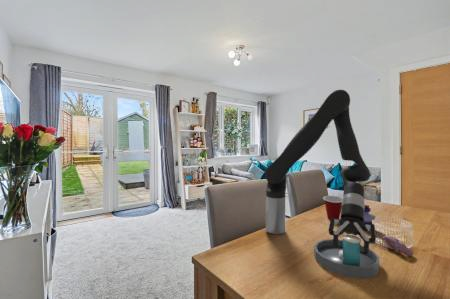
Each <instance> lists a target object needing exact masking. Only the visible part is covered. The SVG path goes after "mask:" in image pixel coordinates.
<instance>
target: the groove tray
mask: <svg viewBox="0 0 450 299" xmlns="http://www.w3.org/2000/svg"><path fill="white" fill-rule="evenodd" d="M313 256H314V259H315V262H316V263H318V264H319V266H321V267H322V268H324V269H326V270H327V271H330V272H331V273H332V272H333V273H334V274H337V275H340V276H343V277H346V278H353V279H354V278H355V279H369V278H374V277H376V276H377V275H378V274H380V256H379V255H378V254H377V252H376V251H373V250H372V249H370V248H369V253H366V255H365V254H364V245H362V244H360V266H352V265H346V264H342V263H343V239H338V247H337V248H335V246H334V245H333V238H328V239H322V240H318V241H317V242H316V243H315V244H314V246H313Z"/></svg>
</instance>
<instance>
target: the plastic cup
mask: <svg viewBox="0 0 450 299" xmlns="http://www.w3.org/2000/svg"><path fill="white" fill-rule="evenodd" d="M322 199H323V201H324V206H325V211H326V217H327V219H328V220H331V218H332V217H333V218H334V219H337V220H339V219H340V218H341V207H342V199H343V197H341V196H335V195H325V196H323V197H322Z"/></svg>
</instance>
